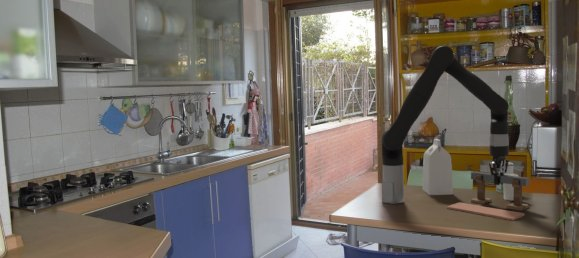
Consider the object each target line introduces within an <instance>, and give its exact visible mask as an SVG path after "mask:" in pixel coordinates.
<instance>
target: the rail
mask: <svg viewBox="0 0 579 258" xmlns="http://www.w3.org/2000/svg"><path fill="white" fill-rule="evenodd" d="M476 175H481V176H482V181H485V182H492V183H494V176H493V175H491V172H490V173H489V172H482V171H471V172H470V180H475V181H476ZM513 179H514V180H519V185H521V186H522V187H528V186H530V177H524V176H518V177H517V176H509V175H500V183H505V184H512V180H513Z"/></svg>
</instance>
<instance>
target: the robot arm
mask: <svg viewBox="0 0 579 258" xmlns="http://www.w3.org/2000/svg"><path fill="white" fill-rule="evenodd" d="M444 73H447V74H449V76H451V77H452V78H454V80H456V81H457V82H458V83H459V84H460V85H462V86H463V88H465V89H466V90H467V91H468V92H469V93H470V94H471V95H473V97H475V98H476V99H477V100H479V101H480V102H482V104H484V105H485V106H486V107H487V109H489V110H490V128H489V129H490V130H489V131H490V133H489V135H490V136H489V155H490V156H492V162H489V163H488V167H489V171H490V173H491V175H493V176H494V182H493V184H494V185H495V186H496V185H500V184H503V183H500V175H505V173H506V172H507V168H508V163H510V162H509V161H510V160H509V159H506V157H507V156H509V154H510V146H509V144H510V142H509V141H510V138H509V123H508V122H509V121H508V114H509V113H508V112H509V111H508V110H509V101H507V99H505V98H503V97H502V96H501V95H500V94H499V93H498V92H496V91H495V90H494V89H493V88H492V87H491V86H490V85H488V84H487V82H485V81H484V80H483V79H482V78H480V77H479V76H477V75H476V74H475V73H473V72H472V71H470V70H468V69H467V68H466V67H464V66H463V65H462V64H461V63H460V62H459V60H457V58H456V57H455V51H453V49H452V48H451V47H450V46H447V45H441V46H438V47H436V48H435V49H434V50H433V51H432V55H431V56H430V59H429V61H428V63H427V65H426V67H425V68H424V70H423V72H422V73H421V74H420V76H419V78H418V79H417V80H416V81H415V83H414V84H413V86H412V87H411V89H410V90H409V92H408V94H407V96H406V97H405V98H404V100H403V103H402V105H401V108H400V110H399V112H398V115H397V118H396V119H395V120H394V122H393V123H392V125H391V127H390V128H389V129H387V130H385V131H384V132H383V133H382V136H381V156H382V157H381V158H382V181H381V202H382V203H385V204H391V205H395V204H402V203H404V202H405V200H404V199H405V198H404V197H405V196H404V195H405V194H404V193H405V192H404V190H405V189H404V187H405V186H404V183H405V182H404V156H403V155H404V153H403V152H404V151H403V144H404V143H405V141H406V138H407V136H408V134H409V132H410V130H411V129H412V127H413V125H414V123H415V122H416V121H417V119H418V118H419V117H420V115H421V113H422V112H423V111H424V109H425V108H426V106H428V105H427V104H429V101H430V100H431V97H432V95H434V91H435V90H436V87H437V85H438V82H439V81H440V78H441V77H442V75H443V74H444Z"/></svg>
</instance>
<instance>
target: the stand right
mask: <svg viewBox="0 0 579 258" xmlns="http://www.w3.org/2000/svg"><path fill="white" fill-rule="evenodd" d="M512 187H514V200H513V202H511V203H510V204H507V205H506V209H511V210H515V211H520V212H521V211H524V210H526V209H528V208H530V205H529V203H528V204H527V203H523V186H521V185H519V180H514V179H513V180H512Z"/></svg>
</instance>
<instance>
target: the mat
mask: <svg viewBox="0 0 579 258" xmlns="http://www.w3.org/2000/svg"><path fill="white" fill-rule="evenodd" d="M446 209H448V210H454V211H459V212H465V213H468V214H469V213H470V214H476V215H481V216H486V217H492V218H497V219H502V220H508V221H512V222H514V221H516V220H518V219H520V218H522V217H524V216H525V213H523V212H520V211H519V212H517V211H512V210H506V209H501V208H495V207H488V206H482V205H478V204H477V205H476V204H470V203H466V202H456V203H452V204H450V205H448V206H446Z"/></svg>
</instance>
